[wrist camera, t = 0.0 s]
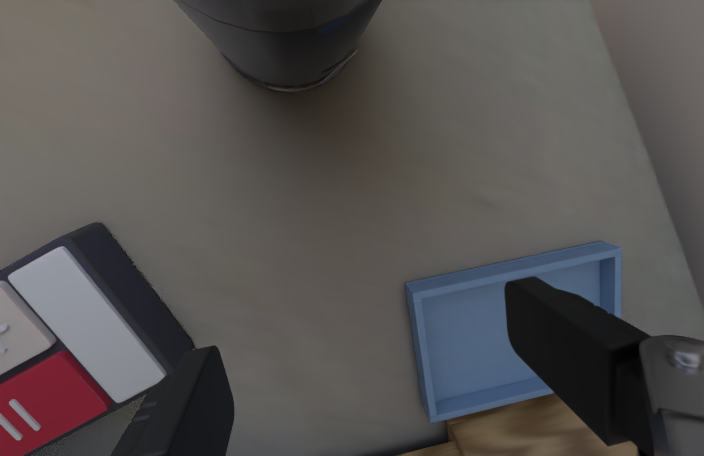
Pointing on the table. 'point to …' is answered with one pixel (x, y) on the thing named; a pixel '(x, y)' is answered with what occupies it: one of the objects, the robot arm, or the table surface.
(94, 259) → the calculator
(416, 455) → the drawer
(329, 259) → the table surface
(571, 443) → the cabinet
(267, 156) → the table surface
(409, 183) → the table surface
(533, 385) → the tray
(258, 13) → the robot arm
